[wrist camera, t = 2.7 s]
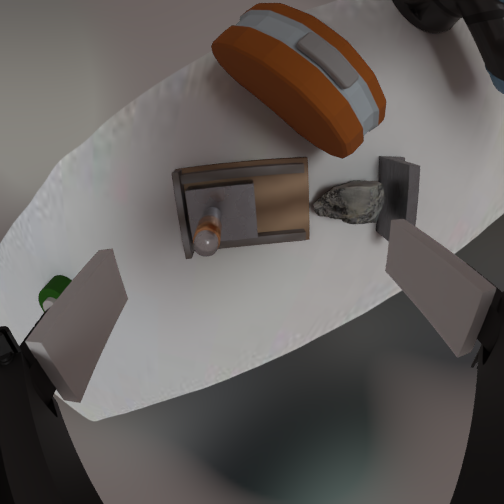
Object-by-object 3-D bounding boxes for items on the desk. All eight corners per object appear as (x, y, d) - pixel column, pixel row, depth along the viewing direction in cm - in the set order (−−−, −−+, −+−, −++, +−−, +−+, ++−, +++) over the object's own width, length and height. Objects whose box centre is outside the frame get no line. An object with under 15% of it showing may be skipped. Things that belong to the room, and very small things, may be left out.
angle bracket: (379, 156, 45) (409, 165, 36) (402, 156, 45) (434, 166, 36) (376, 230, 51) (401, 253, 42) (397, 228, 51) (425, 250, 42)
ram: (188, 186, 44) (169, 213, 31) (252, 179, 44) (260, 203, 31) (195, 235, 47) (182, 279, 34) (256, 229, 48) (265, 272, 34)
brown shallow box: (175, 169, 44) (170, 173, 40) (305, 157, 45) (312, 160, 41) (188, 248, 50) (184, 258, 46) (307, 236, 50) (313, 246, 47)
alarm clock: (356, 112, 42) (442, 112, 21) (318, 152, 44) (385, 178, 24) (255, 24, 35) (274, -48, 14) (214, 64, 37) (196, 12, 17)
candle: (71, 313, 55) (53, 341, 46) (45, 289, 52) (24, 315, 43) (86, 293, 53) (66, 322, 44) (58, 267, 50) (34, 292, 41)
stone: (356, 245, 40) (391, 187, 37) (304, 209, 44) (335, 153, 41) (367, 242, 48) (396, 194, 45) (323, 211, 52) (349, 165, 49)
